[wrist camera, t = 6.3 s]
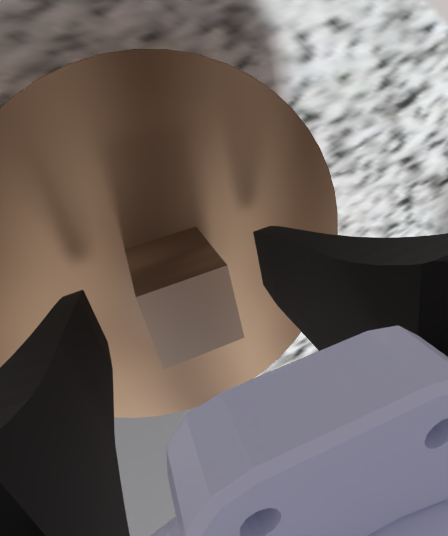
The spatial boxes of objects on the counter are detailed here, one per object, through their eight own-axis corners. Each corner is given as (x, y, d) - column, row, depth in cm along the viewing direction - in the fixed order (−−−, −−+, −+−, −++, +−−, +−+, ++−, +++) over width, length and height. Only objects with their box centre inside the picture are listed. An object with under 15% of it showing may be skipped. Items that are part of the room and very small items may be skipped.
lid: (307, 10, 12) (405, -28, 9) (334, 333, 19) (397, 394, 15) (-160, 115, 10) (-321, 128, 6) (59, 446, 17) (50, 554, 13)
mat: (180, 344, 21) (183, 350, 21) (232, 493, 28) (235, 500, 28) (-106, 454, 18) (-111, 465, 18) (31, 589, 26) (30, 599, 25)
